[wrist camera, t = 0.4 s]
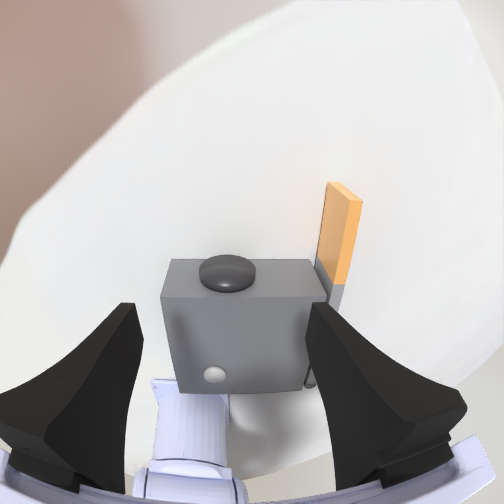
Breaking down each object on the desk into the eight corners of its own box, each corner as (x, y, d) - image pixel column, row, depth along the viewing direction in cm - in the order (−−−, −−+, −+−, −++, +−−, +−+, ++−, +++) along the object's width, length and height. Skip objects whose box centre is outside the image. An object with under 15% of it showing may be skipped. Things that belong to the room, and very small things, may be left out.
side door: (305, 356, 26) (314, 387, 23) (295, 357, 26) (303, 389, 23) (340, 182, 18) (364, 201, 15) (326, 181, 18) (348, 199, 15)
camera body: (292, 352, 26) (302, 394, 22) (183, 353, 25) (179, 397, 21) (310, 252, 21) (330, 291, 17) (170, 251, 20) (157, 292, 16)
